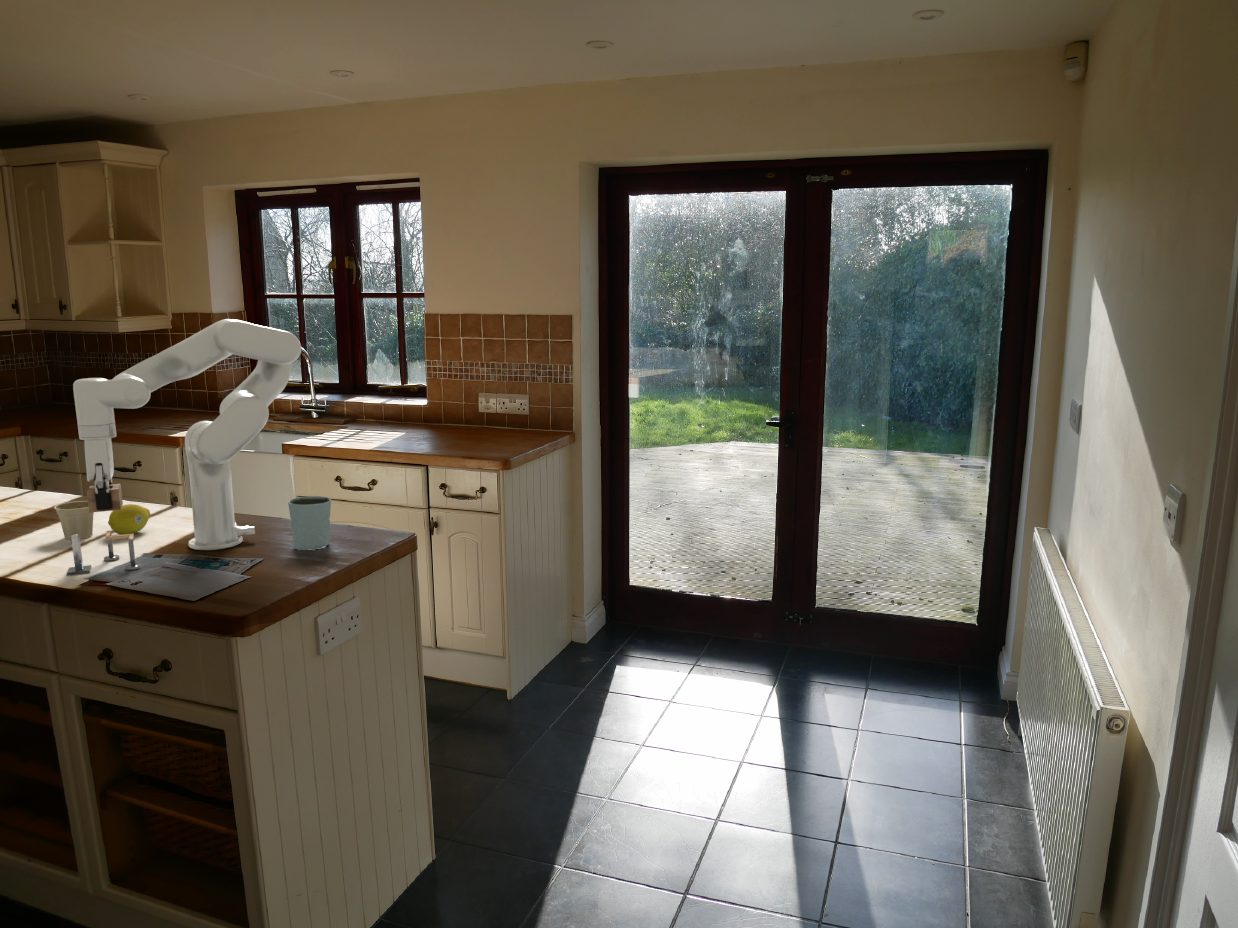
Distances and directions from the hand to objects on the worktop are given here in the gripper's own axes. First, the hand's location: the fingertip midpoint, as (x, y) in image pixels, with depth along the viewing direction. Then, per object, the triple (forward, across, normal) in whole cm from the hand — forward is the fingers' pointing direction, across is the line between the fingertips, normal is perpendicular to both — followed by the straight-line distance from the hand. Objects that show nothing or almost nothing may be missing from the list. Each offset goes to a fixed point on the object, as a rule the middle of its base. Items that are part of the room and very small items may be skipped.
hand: (106, 505), depth 206 cm
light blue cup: (+14, +7, +45) cm, 48 cm away
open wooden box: (+1, 0, 0) cm, 1 cm away
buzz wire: (+13, +5, +2) cm, 14 cm away
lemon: (+14, -24, +2) cm, 28 cm away
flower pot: (+14, -26, -10) cm, 31 cm away
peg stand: (+13, +7, -6) cm, 16 cm away
